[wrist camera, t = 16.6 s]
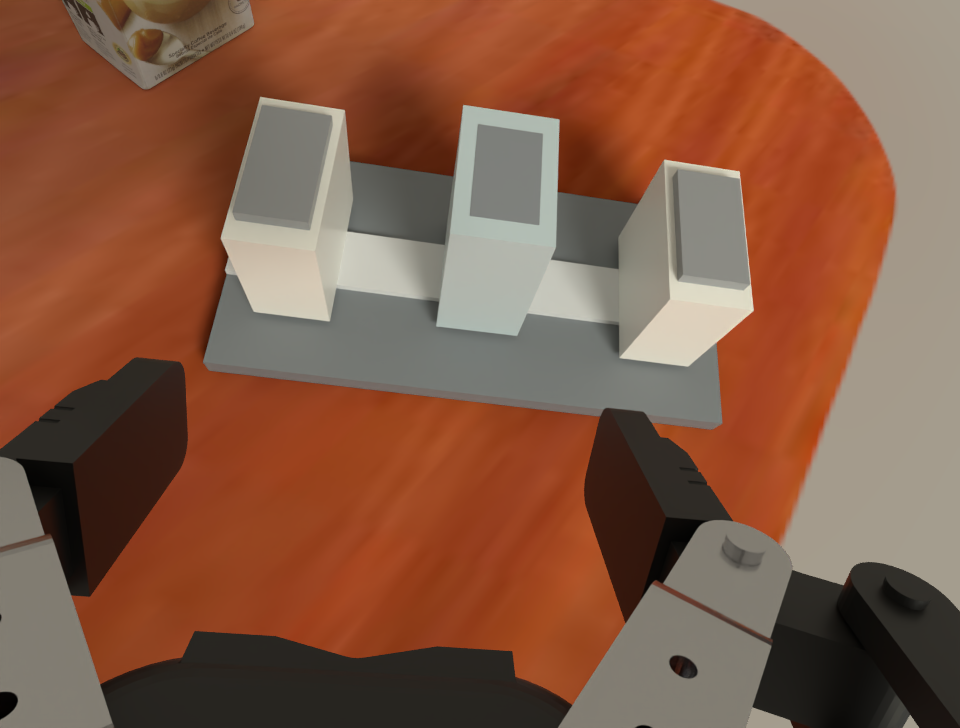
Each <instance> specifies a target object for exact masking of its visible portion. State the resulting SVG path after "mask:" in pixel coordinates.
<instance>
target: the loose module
mask: <svg viewBox="0 0 960 728" xmlns="http://www.w3.org/2000/svg"><path fill="white" fill-rule="evenodd" d="M558 153H559V119H553V118H546V117H539V116H533V115H526V114H520V113H513V112H506V111H500V110H493V109H487V108H480V107H473V106H467V105H463V111H462V118H461V126H460V133H459V140H458V148H457V155H456V162H455V169H454V177H453V184H452V191H451V198H450V206H449V213H448V220H447V230H446V239H445V248H444V258H443V267H442V276H441V286H440V295H439V304H438V314H437V323H436V326H438V327H446V328H454V329H463V330H471V331H480V332H488V333H497V334H505V335H513V336H517V335H518V333H519V331H520V328H521V326H522V324H523V321H524V319H525V317H526V315H527V312H528V310H529V308H530V306H531V303H532V301H533V299H534V296H535V294H536V292H537V290H538V287H539V285H540V283H541V280H542V278H543V276H544V274H545V271H546V269H547V267H548V265H549V262H550V260H551V258H552V255H553V253H554V251H555V249H556V227H557V190H558Z"/></svg>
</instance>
